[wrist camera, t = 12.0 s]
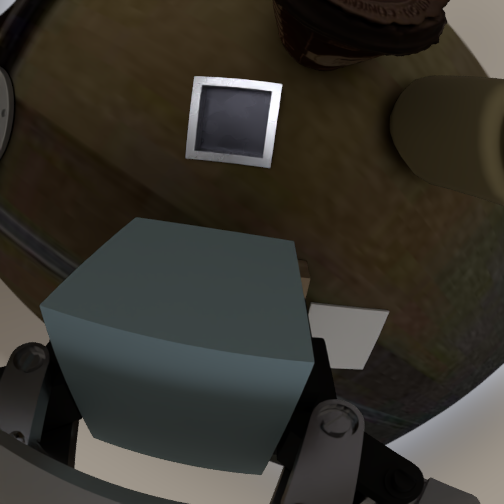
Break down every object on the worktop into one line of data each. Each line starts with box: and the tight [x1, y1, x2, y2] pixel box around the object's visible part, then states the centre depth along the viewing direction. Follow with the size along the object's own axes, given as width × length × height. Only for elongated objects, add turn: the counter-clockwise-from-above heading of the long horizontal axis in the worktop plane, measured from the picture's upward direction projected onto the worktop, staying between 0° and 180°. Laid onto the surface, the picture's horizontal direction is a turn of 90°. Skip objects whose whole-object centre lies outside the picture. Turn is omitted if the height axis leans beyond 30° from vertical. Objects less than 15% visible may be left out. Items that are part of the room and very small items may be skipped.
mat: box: [308, 302, 389, 369], centre depth 28 cm, size 8×8×1 cm
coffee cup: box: [273, 0, 450, 71], centre depth 11 cm, size 9×8×13 cm
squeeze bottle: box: [390, 76, 504, 206], centre depth 11 cm, size 8×8×18 cm
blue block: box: [40, 217, 315, 475], centre depth 8 cm, size 5×5×5 cm
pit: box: [185, 76, 282, 168], centre depth 20 cm, size 6×6×2 cm
